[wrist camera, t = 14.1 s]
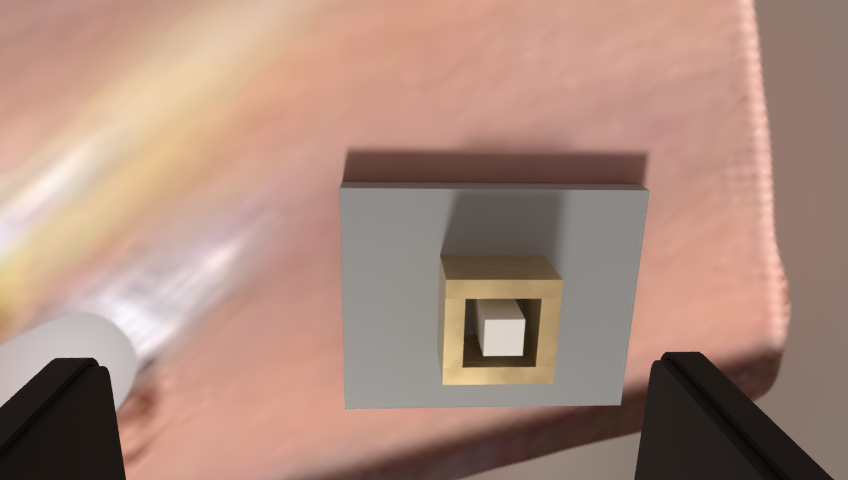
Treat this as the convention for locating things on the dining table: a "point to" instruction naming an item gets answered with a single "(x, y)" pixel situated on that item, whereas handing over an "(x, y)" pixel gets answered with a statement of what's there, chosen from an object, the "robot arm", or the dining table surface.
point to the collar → (498, 281)
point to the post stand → (487, 318)
